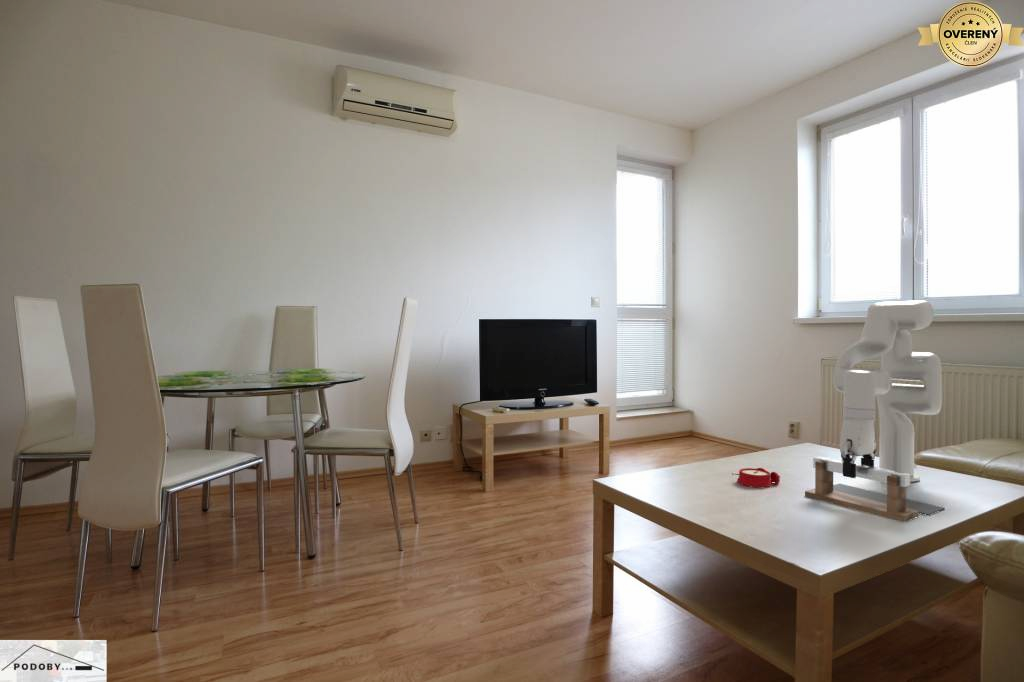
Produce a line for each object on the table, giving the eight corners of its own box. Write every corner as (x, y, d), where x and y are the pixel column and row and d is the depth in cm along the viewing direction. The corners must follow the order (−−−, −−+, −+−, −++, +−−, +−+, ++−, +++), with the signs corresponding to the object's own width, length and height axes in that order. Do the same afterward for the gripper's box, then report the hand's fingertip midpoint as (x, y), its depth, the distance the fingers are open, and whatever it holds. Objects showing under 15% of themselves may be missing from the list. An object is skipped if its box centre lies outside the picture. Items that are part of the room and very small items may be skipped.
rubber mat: (839, 485, 172) (839, 483, 172) (944, 509, 148) (944, 507, 148) (822, 489, 167) (822, 488, 167) (928, 515, 143) (928, 514, 143)
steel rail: (818, 466, 162) (818, 456, 162) (910, 485, 141) (910, 474, 141) (813, 467, 160) (813, 457, 160) (904, 487, 140) (904, 475, 140)
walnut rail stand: (819, 492, 164) (820, 456, 164) (918, 516, 142) (919, 475, 142) (804, 496, 160) (805, 459, 160) (904, 522, 138) (904, 480, 138)
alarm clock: (727, 470, 176) (761, 457, 181) (730, 488, 177) (764, 474, 182) (751, 478, 166) (787, 464, 172) (755, 497, 167) (790, 482, 172)
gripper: (860, 410, 158) (860, 468, 158) (828, 414, 149) (827, 475, 149) (889, 413, 152) (888, 473, 152) (857, 418, 143) (856, 482, 143)
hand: (858, 474), depth 151 cm, fingers open, 9 cm apart
